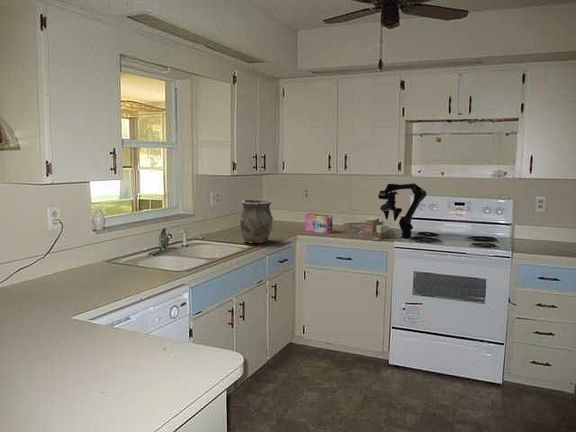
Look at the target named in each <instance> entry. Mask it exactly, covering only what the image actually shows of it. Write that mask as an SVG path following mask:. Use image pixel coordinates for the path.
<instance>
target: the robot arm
mask: <svg viewBox="0 0 576 432" xmlns="http://www.w3.org/2000/svg"><path fill="white" fill-rule="evenodd" d="M398 190H411V191H412V194H414V195H413V201H412V203H411V204H410V207H409V208H408V210H407V212H406V214H405V215H404V216H401V217H400V220H399V222H398V226H399V227H400V230H401V236H400V238H401V239H405V238H406V239H413V237H412V230H413V229H414V225H412V217H413V216H414V214H415V213H416V211H417V208H418V207H419V205H420V203H421V202H422V201H423V200H424V199H425V198H426V197H427V191H426V190H424V189H423V188H422V187H420V186H419V185H418V184H417V183H414V182H413V183H406V184H399V183H387V185H386V187H385V189H384V190H380V191H379V193H378V200H385V203H384V204H382V205H380V207H379V209H380V211H381V212H382V213H383V214H384V217H385V220H386V221H387V220H388V219H389V215H390V211H392V214H393V221H394V222H396V221H397V219H398V217H399V215H400V214H401V213H402V212H403V209H402V207H396V203H397V201H396V195H399V193H398V192H397V191H398ZM386 200H387V201H386Z"/></svg>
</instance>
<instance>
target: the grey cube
mask: <svg viewBox="0 0 576 432" xmlns="http://www.w3.org/2000/svg"><path fill="white" fill-rule="evenodd" d="M386 232H388V233H389V236H392V228H388V227H386Z"/></svg>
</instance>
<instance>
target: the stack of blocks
mask: <svg viewBox="0 0 576 432" xmlns="http://www.w3.org/2000/svg"><path fill="white" fill-rule="evenodd" d="M377 225H384V220H380V218H379V217H369V218H367V219H365V233H364V234H365V236H372V235H373V236H374V232H376V231H377Z"/></svg>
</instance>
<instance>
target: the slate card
mask: <svg viewBox="0 0 576 432" xmlns="http://www.w3.org/2000/svg"><path fill="white" fill-rule="evenodd" d="M369 240H371V241H374V242H377V241H383V240H384V238H382V239H380V238H375V237H370V238H369Z"/></svg>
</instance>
